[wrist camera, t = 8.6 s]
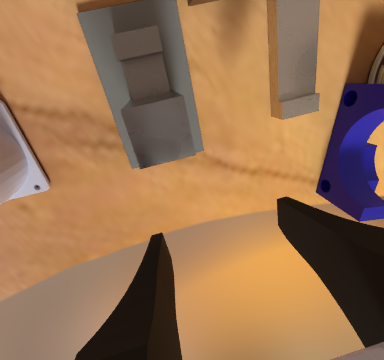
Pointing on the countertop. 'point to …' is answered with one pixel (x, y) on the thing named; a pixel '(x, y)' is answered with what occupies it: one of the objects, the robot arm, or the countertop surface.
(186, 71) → the pad
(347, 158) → the blue cradle bracket
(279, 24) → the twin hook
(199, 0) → the vise
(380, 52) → the coffee can
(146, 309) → the robot arm
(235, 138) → the countertop surface
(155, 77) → the gray stepped bracket
